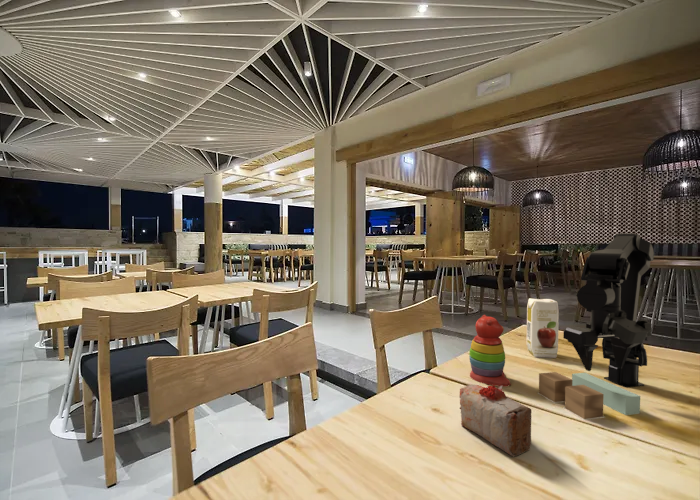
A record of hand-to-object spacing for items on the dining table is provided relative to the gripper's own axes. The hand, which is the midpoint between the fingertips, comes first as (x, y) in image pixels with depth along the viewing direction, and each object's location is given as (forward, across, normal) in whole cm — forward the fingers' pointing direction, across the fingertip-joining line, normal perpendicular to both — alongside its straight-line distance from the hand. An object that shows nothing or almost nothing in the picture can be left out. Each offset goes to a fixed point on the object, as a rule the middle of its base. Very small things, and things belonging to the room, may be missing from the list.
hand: (604, 369), depth 83 cm
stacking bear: (+8, -19, +18) cm, 28 cm away
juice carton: (+8, +12, +33) cm, 36 cm away
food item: (+8, -35, -7) cm, 37 cm away
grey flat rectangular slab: (+8, -6, 0) cm, 10 cm away
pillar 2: (+8, -10, -4) cm, 13 cm away
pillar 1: (+8, -10, +4) cm, 13 cm away
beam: (+8, 0, 0) cm, 8 cm away
